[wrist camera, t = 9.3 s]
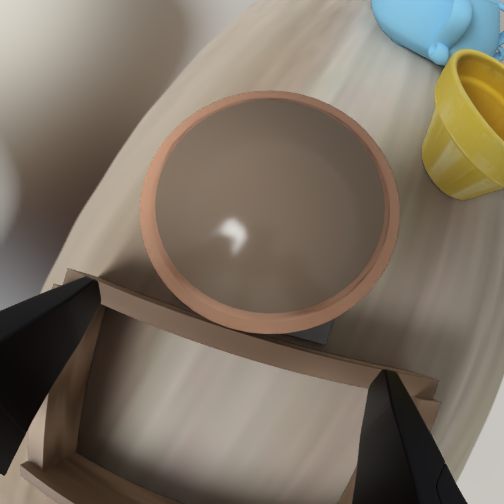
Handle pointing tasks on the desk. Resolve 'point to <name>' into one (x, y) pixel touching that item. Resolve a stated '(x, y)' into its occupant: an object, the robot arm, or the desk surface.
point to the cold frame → (196, 329)
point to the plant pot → (467, 127)
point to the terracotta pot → (269, 212)
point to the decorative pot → (442, 26)
